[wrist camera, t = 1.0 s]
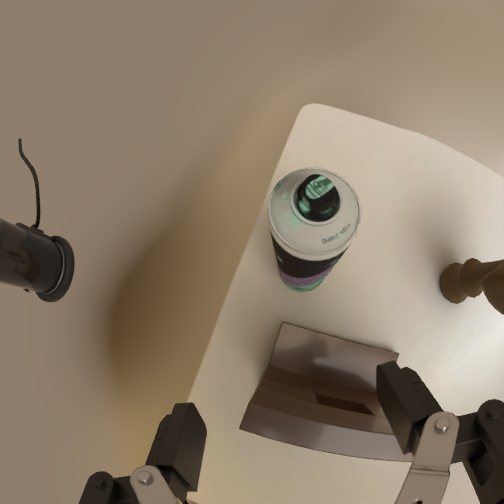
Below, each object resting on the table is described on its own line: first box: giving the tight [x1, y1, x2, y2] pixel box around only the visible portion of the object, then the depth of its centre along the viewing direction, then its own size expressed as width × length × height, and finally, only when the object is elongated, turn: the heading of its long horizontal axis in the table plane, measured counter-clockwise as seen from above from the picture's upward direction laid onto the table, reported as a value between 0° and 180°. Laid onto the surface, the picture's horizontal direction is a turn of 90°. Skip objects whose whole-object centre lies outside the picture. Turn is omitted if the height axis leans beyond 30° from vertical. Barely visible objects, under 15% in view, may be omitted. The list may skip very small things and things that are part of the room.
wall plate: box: [239, 322, 414, 462], centre depth 21 cm, size 8×14×16 cm, turn 72°
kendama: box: [441, 258, 504, 315], centre depth 19 cm, size 6×10×20 cm, turn 132°
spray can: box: [268, 168, 361, 292], centre depth 22 cm, size 6×6×20 cm
